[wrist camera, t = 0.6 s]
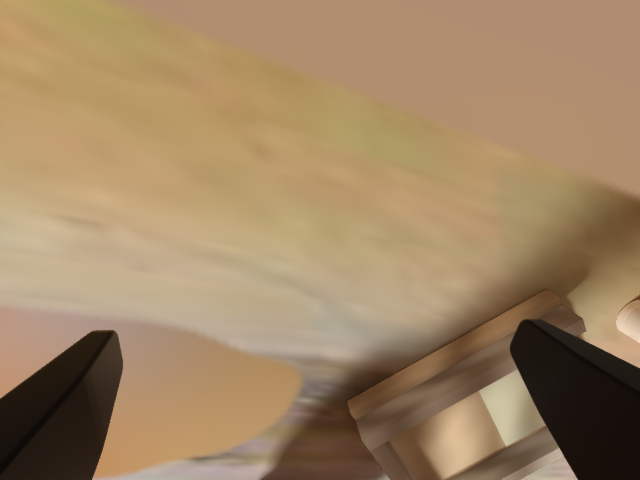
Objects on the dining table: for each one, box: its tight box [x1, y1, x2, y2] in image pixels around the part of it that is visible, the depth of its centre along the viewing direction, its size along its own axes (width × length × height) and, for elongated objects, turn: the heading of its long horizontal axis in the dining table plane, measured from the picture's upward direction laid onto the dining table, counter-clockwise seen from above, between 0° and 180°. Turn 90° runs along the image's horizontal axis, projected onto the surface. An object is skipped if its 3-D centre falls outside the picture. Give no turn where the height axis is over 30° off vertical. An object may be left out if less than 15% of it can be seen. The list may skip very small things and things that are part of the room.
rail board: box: [347, 289, 586, 480], centre depth 29 cm, size 17×14×3 cm
